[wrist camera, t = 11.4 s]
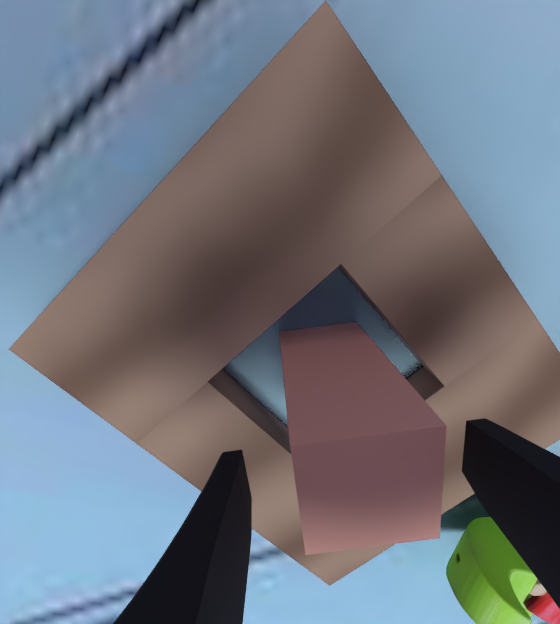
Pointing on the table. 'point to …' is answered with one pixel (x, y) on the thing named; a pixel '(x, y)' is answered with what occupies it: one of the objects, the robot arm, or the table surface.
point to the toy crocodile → (496, 579)
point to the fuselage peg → (359, 443)
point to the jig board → (294, 285)
